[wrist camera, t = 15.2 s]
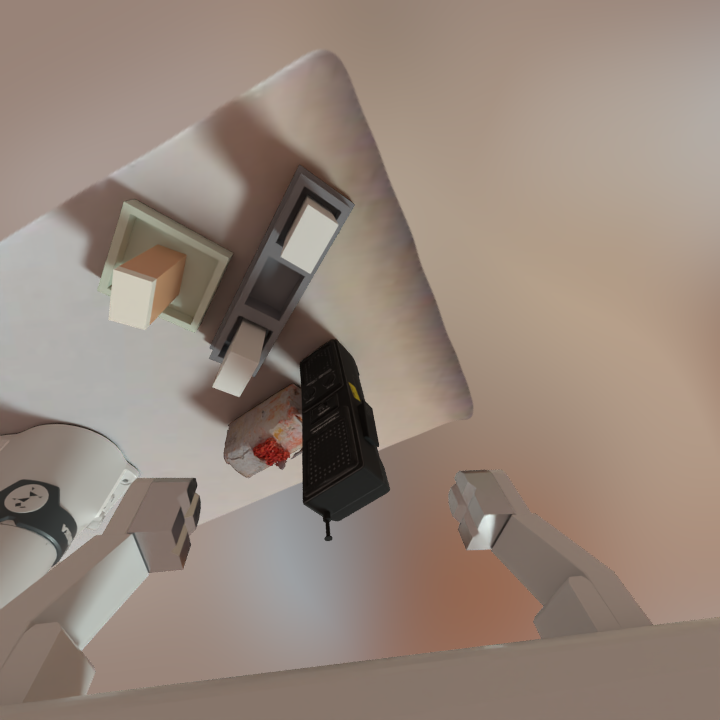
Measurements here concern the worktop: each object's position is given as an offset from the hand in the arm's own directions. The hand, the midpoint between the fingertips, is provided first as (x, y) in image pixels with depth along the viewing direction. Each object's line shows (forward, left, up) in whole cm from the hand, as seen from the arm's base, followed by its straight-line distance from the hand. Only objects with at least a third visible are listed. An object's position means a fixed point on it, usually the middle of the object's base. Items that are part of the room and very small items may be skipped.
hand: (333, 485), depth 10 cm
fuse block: (-6, +2, -34) cm, 35 cm away
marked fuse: (-11, +13, -34) cm, 38 cm away
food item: (-25, -8, -35) cm, 43 cm away
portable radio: (-13, -10, -35) cm, 38 cm away
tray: (-11, +13, -34) cm, 38 cm away
